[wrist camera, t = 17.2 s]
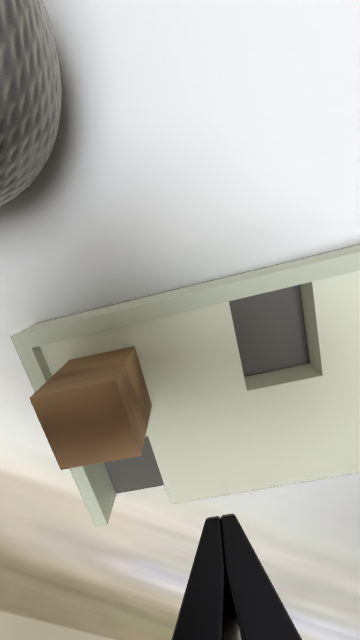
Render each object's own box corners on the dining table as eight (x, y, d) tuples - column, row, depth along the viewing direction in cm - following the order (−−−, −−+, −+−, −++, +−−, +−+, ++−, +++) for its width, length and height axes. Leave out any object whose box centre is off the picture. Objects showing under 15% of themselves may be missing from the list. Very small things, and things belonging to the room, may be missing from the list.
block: (152, 405, 18) (140, 455, 14) (90, 417, 18) (60, 469, 14) (134, 346, 17) (116, 380, 12) (69, 359, 17) (29, 397, 13)
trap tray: (404, 441, 21) (437, 470, 18) (106, 493, 23) (95, 526, 20) (399, 234, 16) (441, 232, 14) (35, 323, 19) (10, 336, 16)
